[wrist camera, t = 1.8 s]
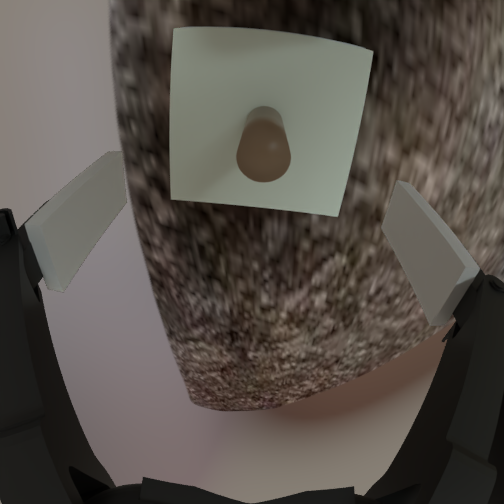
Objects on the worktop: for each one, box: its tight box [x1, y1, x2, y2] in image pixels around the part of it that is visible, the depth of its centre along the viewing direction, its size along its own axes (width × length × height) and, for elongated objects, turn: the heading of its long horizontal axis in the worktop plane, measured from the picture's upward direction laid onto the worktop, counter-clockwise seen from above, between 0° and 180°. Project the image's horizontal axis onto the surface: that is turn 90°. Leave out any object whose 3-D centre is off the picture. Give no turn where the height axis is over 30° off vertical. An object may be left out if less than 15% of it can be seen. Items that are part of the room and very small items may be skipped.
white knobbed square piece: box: [170, 27, 373, 217], centre depth 21 cm, size 16×16×13 cm
